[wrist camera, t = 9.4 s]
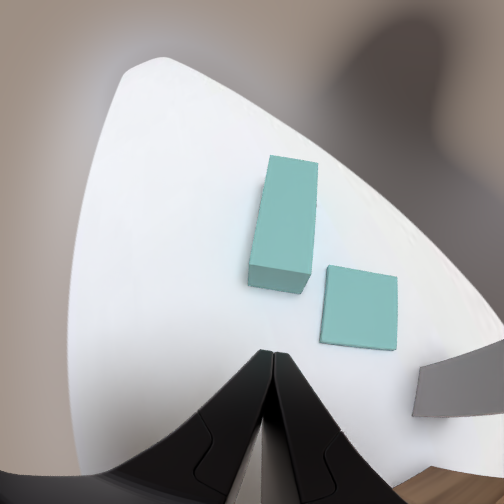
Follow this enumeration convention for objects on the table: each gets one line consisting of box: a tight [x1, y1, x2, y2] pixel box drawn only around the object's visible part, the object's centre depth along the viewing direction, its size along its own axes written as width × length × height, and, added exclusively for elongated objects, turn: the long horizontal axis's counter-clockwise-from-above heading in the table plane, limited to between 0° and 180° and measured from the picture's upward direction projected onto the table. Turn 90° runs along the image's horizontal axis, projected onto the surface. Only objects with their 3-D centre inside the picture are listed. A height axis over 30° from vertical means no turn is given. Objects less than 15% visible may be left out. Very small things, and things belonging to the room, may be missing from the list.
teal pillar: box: [248, 155, 318, 294], centre depth 23 cm, size 4×4×10 cm
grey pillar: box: [412, 339, 504, 417], centre depth 13 cm, size 4×4×10 cm
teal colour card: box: [320, 265, 398, 351], centre depth 21 cm, size 6×6×1 cm
